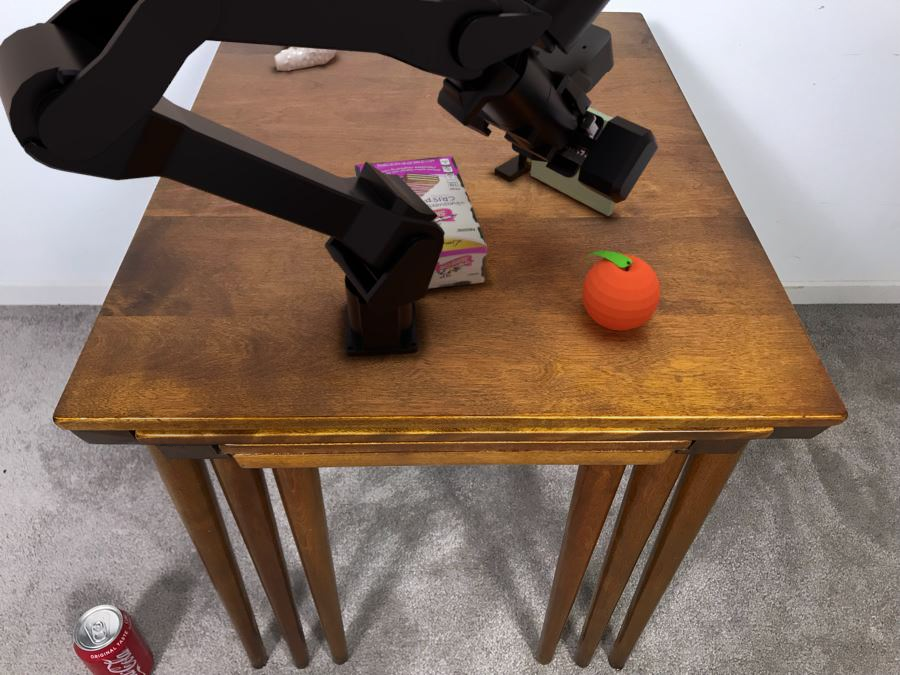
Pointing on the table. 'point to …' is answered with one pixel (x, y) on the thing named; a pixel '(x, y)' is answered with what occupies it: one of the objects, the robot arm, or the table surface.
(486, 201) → the table surface
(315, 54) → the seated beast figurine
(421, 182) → the candy bar box
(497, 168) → the hinge post
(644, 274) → the clementine
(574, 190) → the door
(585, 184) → the robot arm
